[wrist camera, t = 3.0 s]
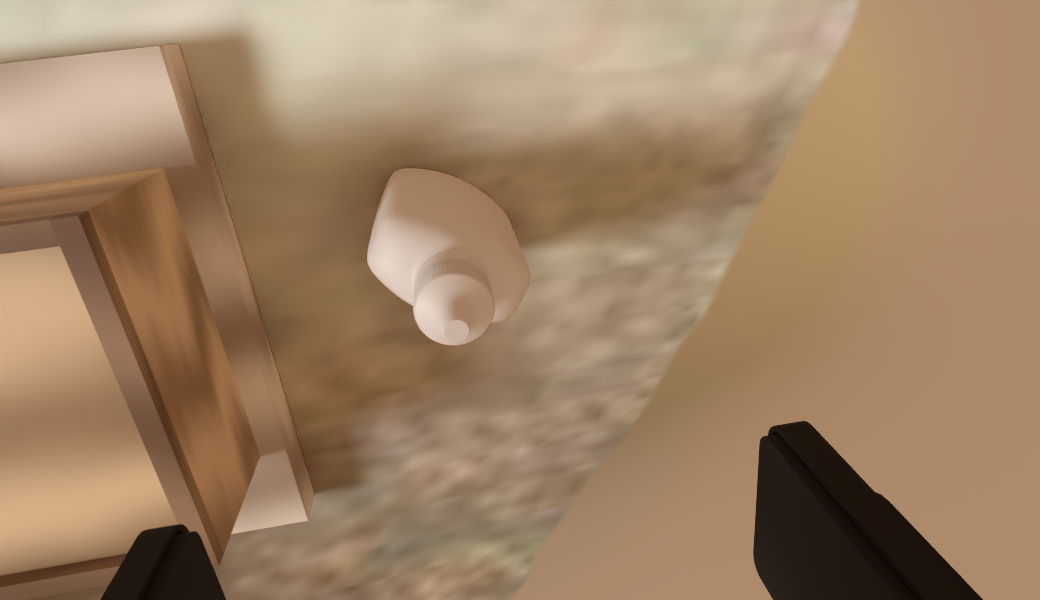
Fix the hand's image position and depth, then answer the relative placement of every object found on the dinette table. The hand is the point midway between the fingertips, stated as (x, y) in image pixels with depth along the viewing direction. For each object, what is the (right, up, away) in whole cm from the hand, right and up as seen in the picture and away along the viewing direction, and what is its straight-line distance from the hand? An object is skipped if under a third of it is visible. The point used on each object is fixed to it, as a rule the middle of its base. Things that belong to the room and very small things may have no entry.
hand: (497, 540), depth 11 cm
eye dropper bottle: (-3, +8, +18) cm, 20 cm away
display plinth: (-18, +3, +18) cm, 26 cm away
